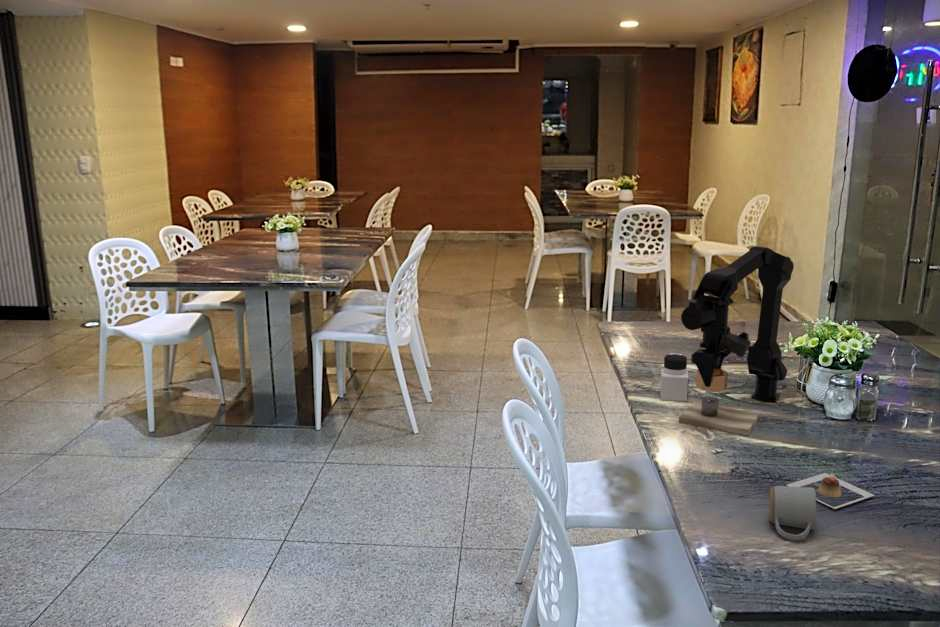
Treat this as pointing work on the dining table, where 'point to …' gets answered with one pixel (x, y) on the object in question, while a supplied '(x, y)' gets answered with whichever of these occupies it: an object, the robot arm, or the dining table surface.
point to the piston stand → (720, 419)
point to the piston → (709, 406)
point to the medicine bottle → (674, 378)
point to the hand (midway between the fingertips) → (711, 382)
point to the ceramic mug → (793, 509)
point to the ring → (714, 381)
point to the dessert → (831, 487)
